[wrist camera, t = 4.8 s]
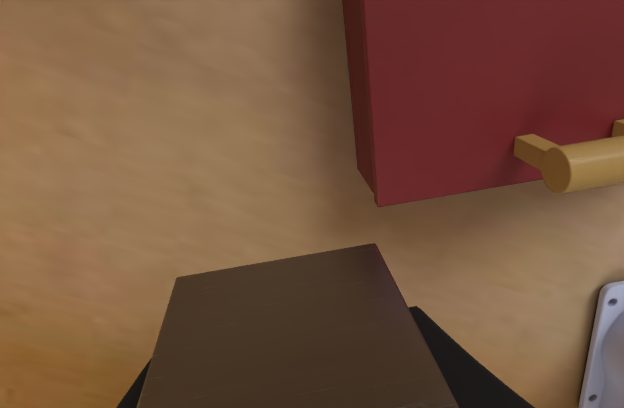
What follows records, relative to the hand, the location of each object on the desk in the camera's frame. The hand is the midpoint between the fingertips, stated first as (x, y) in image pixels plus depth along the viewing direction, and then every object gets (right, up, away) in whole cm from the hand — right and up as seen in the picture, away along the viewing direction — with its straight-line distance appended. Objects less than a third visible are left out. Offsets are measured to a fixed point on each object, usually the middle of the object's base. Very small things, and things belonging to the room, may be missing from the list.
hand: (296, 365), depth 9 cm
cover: (+9, +9, +5) cm, 14 cm away
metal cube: (0, 0, +1) cm, 1 cm away
